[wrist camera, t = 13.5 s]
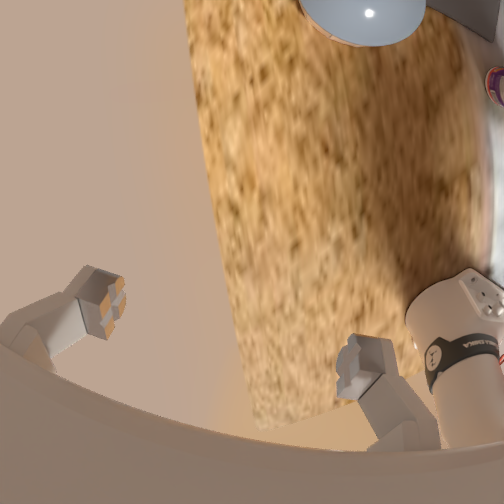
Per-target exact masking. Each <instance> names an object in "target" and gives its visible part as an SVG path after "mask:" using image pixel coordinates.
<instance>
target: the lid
mask: <svg viewBox="0 0 504 504" xmlns="http://www.w3.org/2000/svg"><path fill="white" fill-rule="evenodd" d="M300 2H301V4H302V6H303V8H304V9H305V11H306V13H307V14H308V15H309V16H310V17H311V19H312V20H313V21H314V22H315V23H316V24H317V25H318V26H320V27H321V28H322V29H324V30H325V31H326V32H328V33H329V34H331V35H333V36H335V37H337V38H339V39H341V40H343V41H346V42H349V43H352V44H356V45H362V46H373V47H374V46H385V45H390V44H394V43H397V42H399V41H401V40H403V39H405V38H407V37H408V36H410V35H411V34H412V33H413V32H414V31H415V30H416V29H417V28H418V26H419V25H420V23H421V21H422V19H423V17H424V13H425V8H426V0H300Z"/></svg>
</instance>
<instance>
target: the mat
mask: <svg viewBox="0 0 504 504" xmlns="http://www.w3.org/2000/svg"><path fill="white" fill-rule="evenodd" d="M426 5H427V6H429V7H431V8H433V9H435V10H437V11H439V12H440V13H442V14H444V15H446V16H448V17H450V18H452V19H453V20H455V21H457V22H459V23H460V24H462V25H464V26H466V27H467V28H469V29H471V30H472V31H474V32H475V33H477V34H479V35H480V36H482V37H483V38H485V39H486V40H488V41H489V42H491V43H493V41H494V36H495V31H496V25H497V20H498V13H499V7H500V0H426Z"/></svg>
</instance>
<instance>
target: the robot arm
mask: <svg viewBox="0 0 504 504" xmlns="http://www.w3.org/2000/svg"><path fill="white" fill-rule="evenodd" d="M472 278H473V279H472ZM124 285H125V284H124V278H123V277H122V276H119V275H116V274H113V273H110V272H107V271H104V270H101V269H98V268H95V267H92V266H89V265H86V266H84V267H83V268H82V269H81V270H80V272H79V273H78V274H77V275H76V276H75V278H74V279H73V280H72V281H71V282H70V284H69V285H68V286H67V288H66V289H65V290H64V291H63V293H61V292H58V293H55V294H53V295H51V296H48V297H46V298H44V299H41V300H39V301H37V302H35V303H33V304H30V305H28V306H26V307H24V308H21V309H19V310H17V311H15V312H12V313H10V314H9V315H8V316H7V317H6V319H5V320H4V322H2V324H1V325H0V504H504V375H503V373H502V370H501V367H500V365H501V364H502V363H503V362H504V360H503V361H502V362H500V361H501V360H502V359H503V357H504V354H503V355H502V356H501V357H500V356H499V345H500V343H501V342H502V340H503V339H504V290H502V289H501V288H500V287H498V286H497V285H495V284H494V283H492V282H491V281H490V280H488V279H487V278H485V277H484V276H482V275H481V274H479V273H478V272H477V271H475V270H474V269H472V268H468V269H466V270H464V271H462V272H461V273H459V274H458V275H457V276H455V277H453V278H450V279H447V280H444V281H441V282H438V283H436V284H434V285H432V286H430V287H429V288H427V289H426V290H424V291H423V292H422V293H421V294H420V295H419V296H418V297H417V298H416V299H415V300H414V301H413V302H412V304H411V305H410V307H409V309H408V311H407V314H406V318H405V323H406V327H407V329H408V331H409V332H410V334H411V336H412V338H413V345H414V347H415V348H416V349H418V352H419V354H420V357H421V360H422V362H423V365H424V367H425V374H426V379H427V385H428V387H429V390H430V393H431V394H432V395H433V397H434V401H435V406H436V411H437V417H438V422H439V428H440V434H441V437H442V439H443V440H444V441H445V442H446V443H447V445H448V447H449V449H441V443H440V437H439V430H438V424H437V420H436V418H435V417H434V416H433V415H432V413H431V412H430V411H429V410H428V408H427V407H426V406H425V404H424V403H423V402H422V400H421V399H420V398H419V397H418V395H417V394H416V393H415V392H414V390H413V389H412V388H411V387H410V385H409V384H408V383H407V382H406V380H405V379H404V378H403V377H402V376H399V373H398V368H397V362H396V357H395V352H394V348H393V343H392V341H391V340H390V339H384V338H377V337H373V336H367V335H361V334H356V333H353V334H351V335H350V337H349V338H348V345H346V346H344V347H342V349H341V351H340V352H339V355H338V358H337V362H336V372H337V373H338V375H339V376H340V378H339V379H338V381H337V397H338V398H345V399H351V400H358V403H359V405H360V407H361V408H362V410H363V412H364V414H365V416H366V417H367V419H368V421H369V423H370V425H371V427H372V428H373V430H374V432H375V434H376V436H377V437H378V439H379V440H378V441H377V442H375V443H374V444H372V445H371V446H370V447H368V448H367V451H344V450H330V449H318V448H309V447H299V446H292V445H284V444H277V443H271V442H265V441H259V440H254V439H248V438H243V437H238V436H234V435H229V434H224V433H220V432H216V431H211V430H207V429H203V428H199V427H195V426H192V425H188V424H185V423H181V422H178V421H174V420H171V419H167V418H164V417H161V416H158V415H155V414H152V413H149V412H146V411H143V410H140V409H137V408H134V407H131V406H129V405H126V404H123V403H121V402H118V401H115V400H113V399H110V398H108V397H105V396H103V395H100V394H98V393H96V392H93V391H91V390H88V389H86V388H84V387H81V386H79V385H77V384H75V383H73V382H70V381H69V380H66V379H64V378H62V377H60V376H58V375H56V373H57V371H56V368H55V366H54V364H53V362H52V360H51V358H52V357H54V356H55V355H57V354H59V353H60V352H61V351H63V350H65V349H66V348H68V347H69V346H71V345H72V344H74V343H75V342H77V341H78V340H80V339H81V338H83V337H85V336H86V335H87V334H90V335H93V336H96V337H98V338H101V339H104V340H108V338H109V336H110V334H111V333H112V331H113V330H114V328H115V326H114V321H115V320H117V319H119V318H120V317H121V315H122V313H123V311H124V308H125V305H126V294H125V292H124V291H123V290H122V288H123V287H124Z"/></svg>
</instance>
